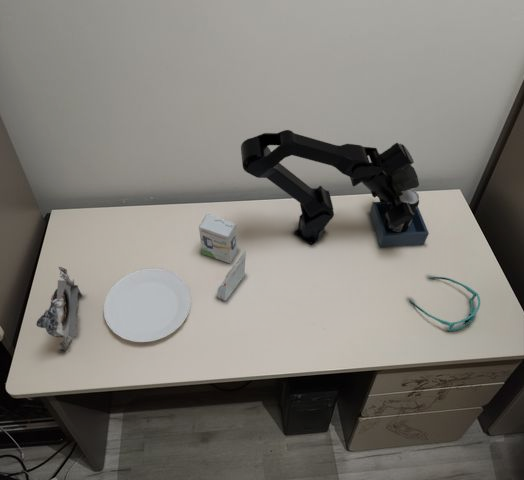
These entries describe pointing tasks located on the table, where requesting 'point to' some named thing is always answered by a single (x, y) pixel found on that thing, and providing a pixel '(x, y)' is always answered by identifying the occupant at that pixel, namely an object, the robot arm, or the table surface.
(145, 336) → the plate
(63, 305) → the grey ornamental figurine
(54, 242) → the table surface
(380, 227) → the tub
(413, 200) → the beverage can
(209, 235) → the ink box
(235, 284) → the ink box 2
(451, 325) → the sunglasses
